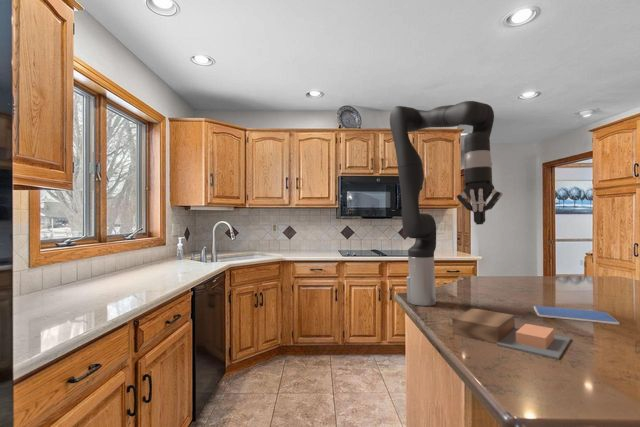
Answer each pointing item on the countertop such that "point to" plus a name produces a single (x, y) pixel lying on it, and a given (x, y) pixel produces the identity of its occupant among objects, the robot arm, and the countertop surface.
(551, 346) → the mat
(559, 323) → the countertop surface
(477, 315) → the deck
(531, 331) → the orange rectangular block
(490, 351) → the countertop surface
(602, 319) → the tablet computer
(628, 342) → the countertop surface
